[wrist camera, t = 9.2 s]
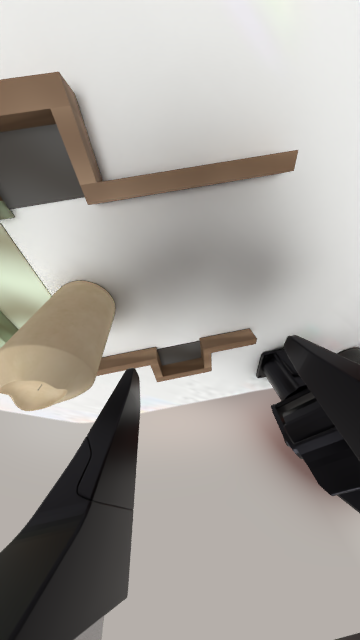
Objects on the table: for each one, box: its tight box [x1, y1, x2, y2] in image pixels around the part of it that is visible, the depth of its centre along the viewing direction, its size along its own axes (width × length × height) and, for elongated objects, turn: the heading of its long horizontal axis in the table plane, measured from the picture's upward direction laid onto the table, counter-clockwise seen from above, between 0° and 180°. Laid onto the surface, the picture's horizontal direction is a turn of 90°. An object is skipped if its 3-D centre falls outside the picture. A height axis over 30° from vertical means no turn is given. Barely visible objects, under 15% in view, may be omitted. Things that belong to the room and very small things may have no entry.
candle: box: [0, 281, 115, 411], centre depth 13 cm, size 6×6×10 cm
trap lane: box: [0, 72, 298, 382], centre depth 16 cm, size 26×28×2 cm
